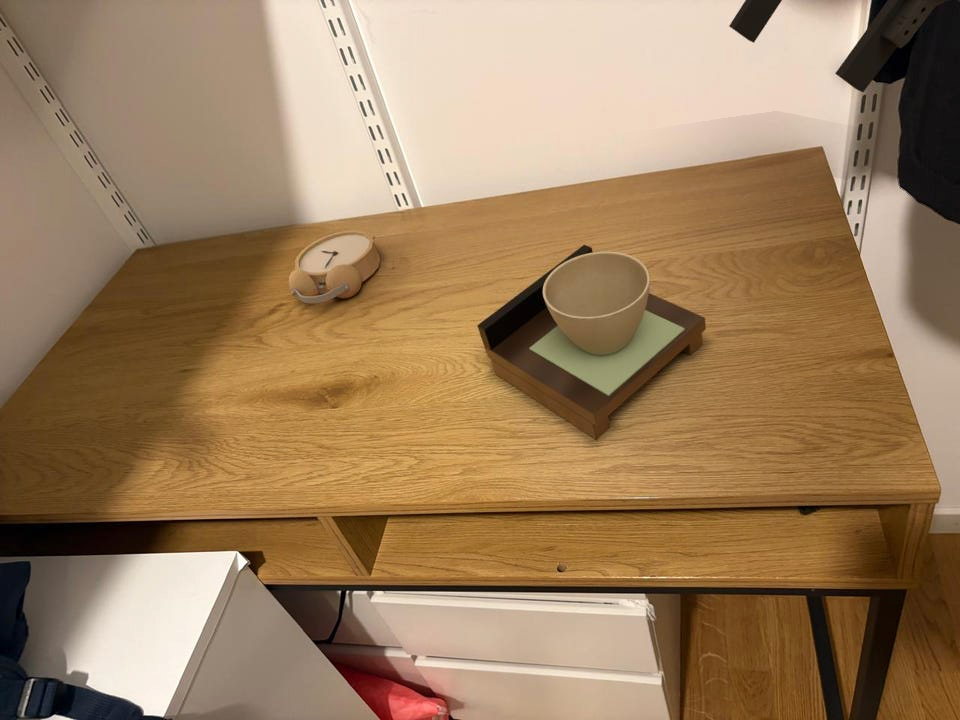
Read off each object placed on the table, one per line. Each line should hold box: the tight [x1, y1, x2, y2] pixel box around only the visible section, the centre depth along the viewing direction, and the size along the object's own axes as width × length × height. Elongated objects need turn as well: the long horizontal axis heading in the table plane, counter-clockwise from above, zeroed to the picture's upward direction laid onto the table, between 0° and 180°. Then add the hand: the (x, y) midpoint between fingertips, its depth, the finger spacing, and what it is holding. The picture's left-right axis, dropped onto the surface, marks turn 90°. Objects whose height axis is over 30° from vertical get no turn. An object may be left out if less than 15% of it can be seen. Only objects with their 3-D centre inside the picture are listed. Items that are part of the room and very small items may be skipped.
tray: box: [476, 244, 707, 440], centre depth 76 cm, size 16×16×7 cm
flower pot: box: [543, 251, 651, 355], centre depth 72 cm, size 10×10×7 cm
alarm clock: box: [288, 229, 381, 305], centre depth 101 cm, size 11×5×15 cm
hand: (790, 57), depth 59 cm, fingers open, 13 cm apart
